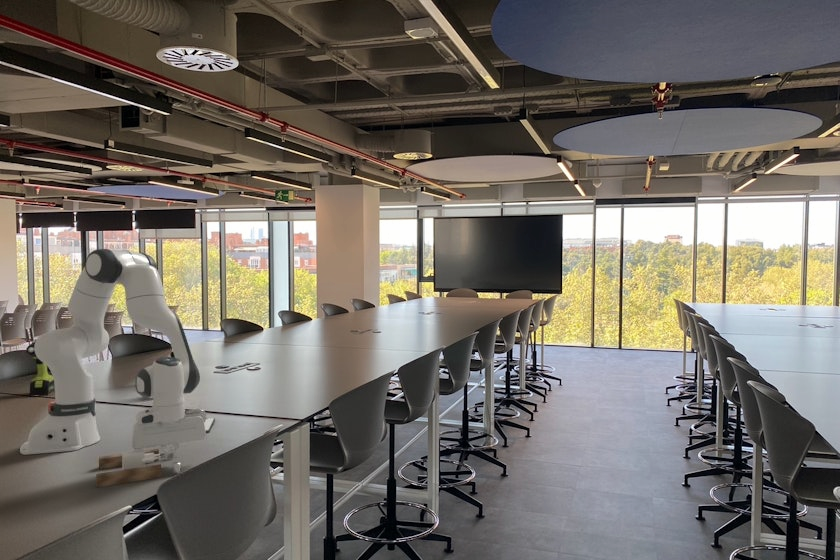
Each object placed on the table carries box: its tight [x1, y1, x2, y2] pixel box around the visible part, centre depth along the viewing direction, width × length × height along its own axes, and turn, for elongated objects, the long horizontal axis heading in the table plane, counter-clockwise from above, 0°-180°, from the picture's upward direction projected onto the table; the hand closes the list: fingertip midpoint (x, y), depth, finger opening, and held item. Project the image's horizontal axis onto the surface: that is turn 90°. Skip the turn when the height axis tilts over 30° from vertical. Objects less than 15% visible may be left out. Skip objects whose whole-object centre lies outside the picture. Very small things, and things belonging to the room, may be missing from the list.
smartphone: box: [204, 417, 216, 434], centre depth 208 cm, size 9×2×16 cm
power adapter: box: [121, 448, 165, 470], centre depth 165 cm, size 11×5×6 cm, turn 118°
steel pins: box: [168, 446, 181, 476], centre depth 169 cm, size 2×17×3 cm, turn 27°
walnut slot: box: [95, 448, 162, 488], centre depth 164 cm, size 16×17×3 cm
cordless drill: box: [25, 340, 55, 396], centre depth 257 cm, size 23×7×25 cm, turn 18°
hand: (169, 458), depth 169 cm, fingers closed
